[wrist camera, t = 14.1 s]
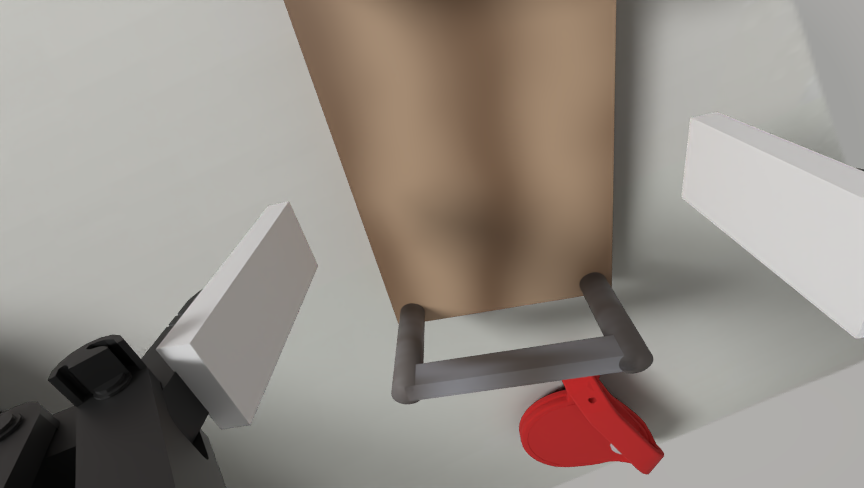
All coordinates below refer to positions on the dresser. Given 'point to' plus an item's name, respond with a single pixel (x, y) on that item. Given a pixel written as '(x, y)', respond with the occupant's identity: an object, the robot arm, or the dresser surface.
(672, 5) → the dresser surface
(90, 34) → the dresser surface
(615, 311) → the wooden serving tray
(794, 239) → the robot arm
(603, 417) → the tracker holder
